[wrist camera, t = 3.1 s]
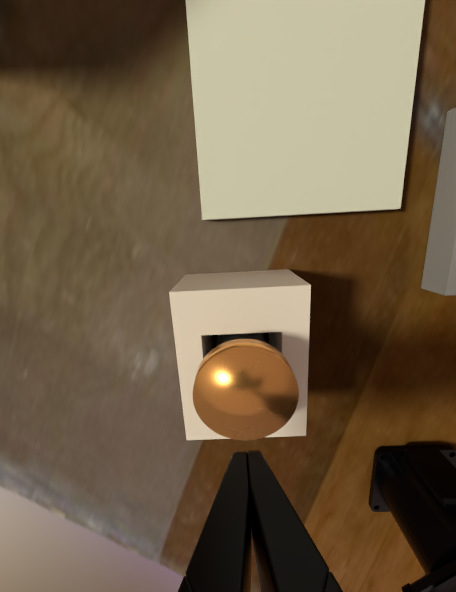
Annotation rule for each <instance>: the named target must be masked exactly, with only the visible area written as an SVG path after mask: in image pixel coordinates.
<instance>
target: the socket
mask: <svg viewBox="0 0 456 592" xmlns="http://www.w3.org/2000/svg"><path fill="white" fill-rule="evenodd" d="M421 288H422V289H425V290H429V291H432V292H435V293H438V294H442V295H456V107H455V108H453V109H452V110H450V111H448V112H447V118H446V124H445V131H444V138H443V144H442V151H441V158H440V165H439V171H438V178H437V185H436V191H435V198H434V205H433V211H432V218H431V225H430V231H429V238H428V245H427V252H426V258H425V265H424V272H423V278H422V285H421Z"/></svg>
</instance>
